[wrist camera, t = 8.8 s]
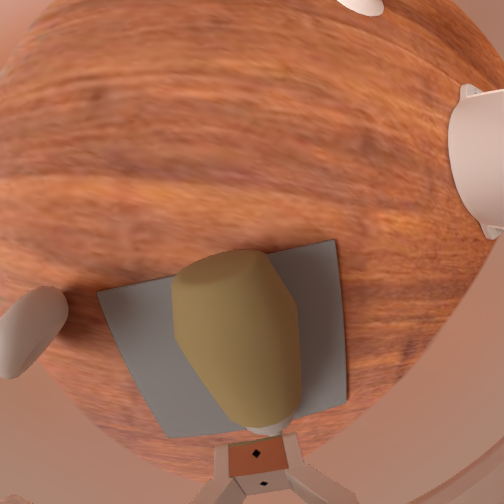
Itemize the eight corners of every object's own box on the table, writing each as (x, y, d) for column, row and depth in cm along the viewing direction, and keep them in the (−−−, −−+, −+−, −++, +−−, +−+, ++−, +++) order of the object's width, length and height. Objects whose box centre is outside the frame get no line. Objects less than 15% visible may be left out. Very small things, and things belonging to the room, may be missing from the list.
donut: (66, 263, 20) (-8, 303, 10) (91, 292, 20) (26, 347, 11) (28, 325, 20) (-26, 371, 10) (49, 349, 21) (0, 403, 11)
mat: (332, 239, 21) (334, 240, 21) (344, 400, 25) (346, 402, 25) (98, 291, 20) (96, 293, 20) (168, 435, 24) (168, 438, 24)
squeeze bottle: (303, 235, 17) (328, 409, 23) (203, 244, 21) (256, 398, 27) (245, 304, 11) (300, 477, 16) (127, 295, 15) (220, 454, 20)
